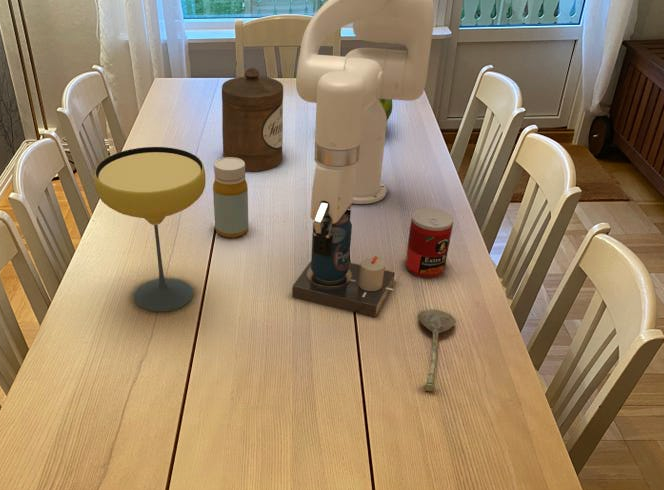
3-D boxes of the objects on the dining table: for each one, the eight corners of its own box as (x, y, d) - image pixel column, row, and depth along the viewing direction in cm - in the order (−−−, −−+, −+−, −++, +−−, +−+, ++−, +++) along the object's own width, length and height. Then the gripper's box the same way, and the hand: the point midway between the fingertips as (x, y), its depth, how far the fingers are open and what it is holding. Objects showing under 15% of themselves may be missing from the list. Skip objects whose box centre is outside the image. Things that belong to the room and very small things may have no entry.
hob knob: (378, 293, 129) (381, 270, 126) (355, 288, 130) (357, 265, 127) (385, 281, 132) (388, 258, 129) (362, 276, 134) (364, 253, 131)
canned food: (421, 282, 137) (429, 231, 130) (396, 262, 142) (403, 212, 135) (453, 272, 139) (462, 221, 133) (427, 253, 145) (436, 203, 138)
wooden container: (282, 172, 174) (283, 79, 160) (221, 171, 174) (217, 79, 161) (282, 147, 186) (283, 59, 172) (225, 147, 186) (221, 58, 172)
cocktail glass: (124, 268, 140) (106, 145, 124) (216, 270, 140) (210, 146, 124) (105, 323, 126) (81, 192, 110) (207, 325, 126) (198, 194, 110)
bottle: (244, 240, 149) (242, 172, 139) (211, 237, 150) (207, 169, 140) (251, 224, 154) (250, 157, 144) (220, 221, 155) (216, 155, 146)
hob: (292, 297, 133) (292, 285, 131) (314, 265, 141) (315, 253, 140) (382, 319, 127) (383, 306, 126) (400, 285, 136) (402, 273, 134)
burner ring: (316, 259, 138) (316, 258, 138) (357, 269, 136) (357, 267, 135) (300, 281, 132) (300, 280, 132) (343, 292, 130) (343, 290, 129)
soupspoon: (455, 319, 129) (418, 315, 130) (457, 303, 127) (420, 299, 128) (449, 395, 112) (406, 389, 113) (451, 378, 110) (408, 372, 111)
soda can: (342, 287, 130) (347, 228, 123) (306, 280, 132) (308, 221, 124) (351, 267, 135) (356, 210, 128) (316, 261, 137) (319, 204, 129)
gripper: (333, 128, 126) (328, 215, 137) (296, 169, 114) (294, 260, 125) (374, 135, 124) (366, 222, 135) (341, 177, 112) (335, 270, 123)
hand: (331, 241), depth 130 cm, fingers open, 9 cm apart
